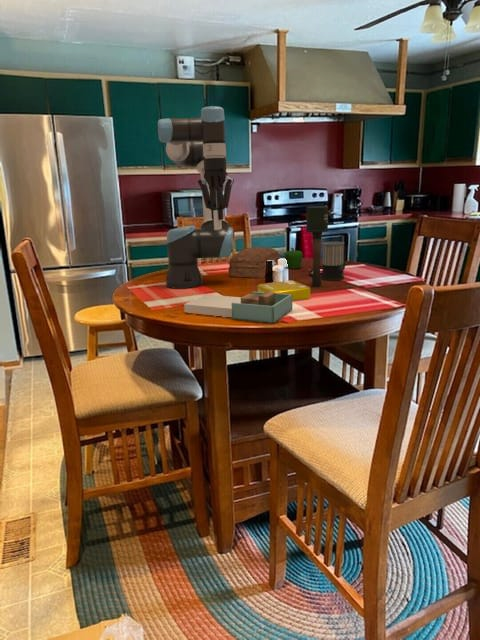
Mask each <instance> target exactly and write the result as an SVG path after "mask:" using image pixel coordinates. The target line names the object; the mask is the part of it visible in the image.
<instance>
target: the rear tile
mask: <svg viewBox="0 0 480 640" xmlns="http://www.w3.org/2000/svg"><path fill="white" fill-rule="evenodd" d="M241 297H242V298H241V303H242V304H254V305H258V301H259V295H256V294H253V293H247V294H246V295H244V296H241Z"/></svg>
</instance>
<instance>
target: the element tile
mask: <svg viewBox="0 0 480 640" xmlns="http://www.w3.org/2000/svg"><path fill="white" fill-rule="evenodd" d="M257 292H275V293H278V294H292V302H295V301H296V302H297V301H303V300H310V299H311V286H308V285H305V284H304V283H303V284H302V283H300V282H297V281H295V280H284V281H283V280H282V281H277V282H267V283H259V284H258V285H257Z"/></svg>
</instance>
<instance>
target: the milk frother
mask: <svg viewBox="0 0 480 640" xmlns="http://www.w3.org/2000/svg"><path fill="white" fill-rule="evenodd" d="M321 245H322V265H320V270H321V271H322V272H320V273H321V280H324V281H341V280H344V279H345V277H344V276H345V275H344V274H345V273H344V270H345V269H346V255H347V248H346V246H345V242H343V241H325V242H321ZM308 274H309V275H310V276H312V275H313V267H312V268H310V269H309V271H308Z"/></svg>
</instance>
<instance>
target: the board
mask: <svg viewBox="0 0 480 640" xmlns="http://www.w3.org/2000/svg"><path fill="white" fill-rule="evenodd" d="M242 297H243V296H241V297H239V296H227V295H217V294H215V295H214V294H204V295H202V296H200V297H197V298H195V299H193V300H191V301H189V302H186V303H184V305H183V306H184V313H185V312H188V313H198V314H206V315H214V316H213V317H216V316H222V317H221V318H226V317H232V303H241V298H242ZM206 315H205V316H206Z"/></svg>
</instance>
